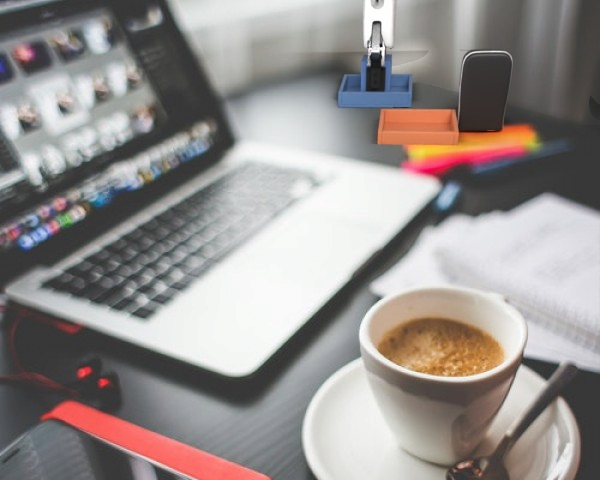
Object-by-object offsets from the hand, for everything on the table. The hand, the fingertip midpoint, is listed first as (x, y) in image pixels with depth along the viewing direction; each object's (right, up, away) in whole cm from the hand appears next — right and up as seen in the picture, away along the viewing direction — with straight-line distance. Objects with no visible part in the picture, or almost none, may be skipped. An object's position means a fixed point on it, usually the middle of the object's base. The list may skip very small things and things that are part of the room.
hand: (376, 85), depth 109 cm
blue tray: (0, -2, +1) cm, 2 cm away
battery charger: (+14, -11, -13) cm, 22 cm away
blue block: (0, 0, 0) cm, 0 cm away
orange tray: (+4, -13, -15) cm, 20 cm away
